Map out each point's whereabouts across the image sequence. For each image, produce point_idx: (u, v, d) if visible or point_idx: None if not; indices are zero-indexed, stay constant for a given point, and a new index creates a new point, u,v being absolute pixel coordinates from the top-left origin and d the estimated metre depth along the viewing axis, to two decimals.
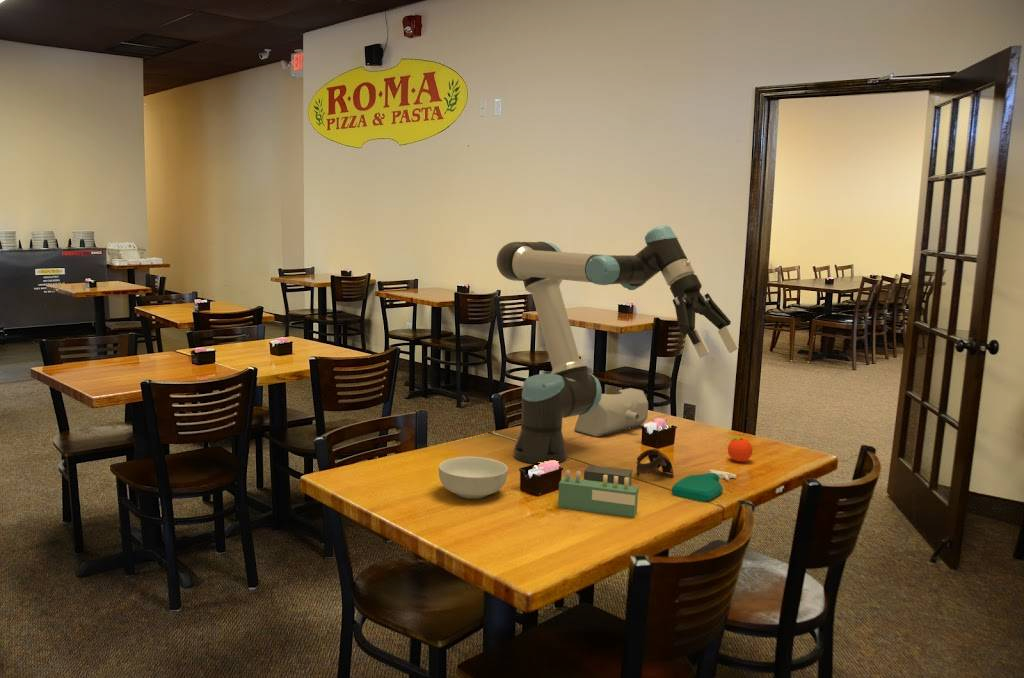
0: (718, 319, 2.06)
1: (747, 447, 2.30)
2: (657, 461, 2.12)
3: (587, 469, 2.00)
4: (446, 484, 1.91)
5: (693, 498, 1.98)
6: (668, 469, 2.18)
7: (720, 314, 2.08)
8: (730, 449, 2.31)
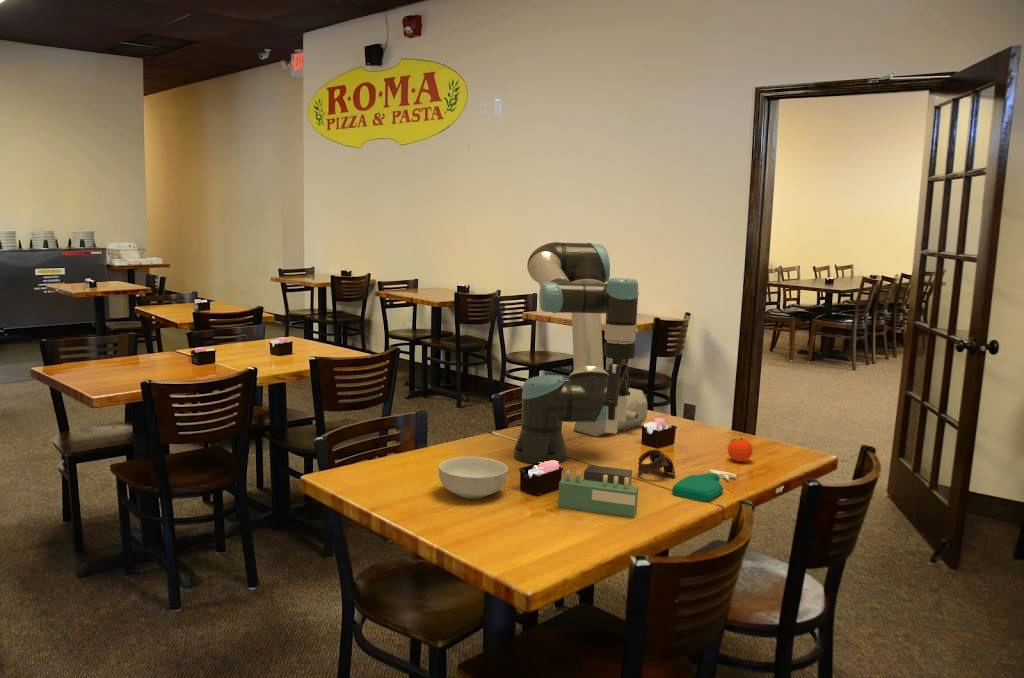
0: (624, 388, 2.02)
1: (747, 447, 2.30)
2: (659, 461, 2.12)
3: (587, 469, 2.00)
4: (446, 484, 1.91)
5: (693, 498, 1.98)
6: (670, 469, 2.18)
7: (626, 381, 2.04)
8: (730, 449, 2.31)
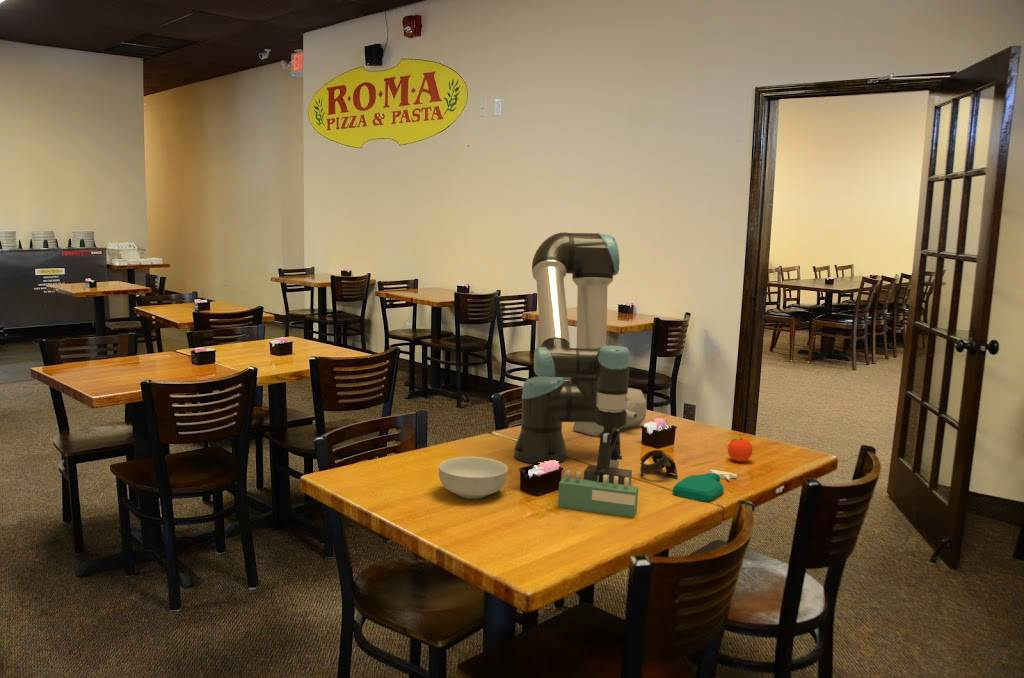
0: (616, 453, 2.04)
1: (747, 447, 2.30)
2: (661, 462, 2.11)
3: (587, 469, 2.00)
4: (446, 484, 1.91)
5: (694, 498, 1.98)
6: (672, 470, 2.18)
7: (618, 445, 2.06)
8: (730, 449, 2.31)
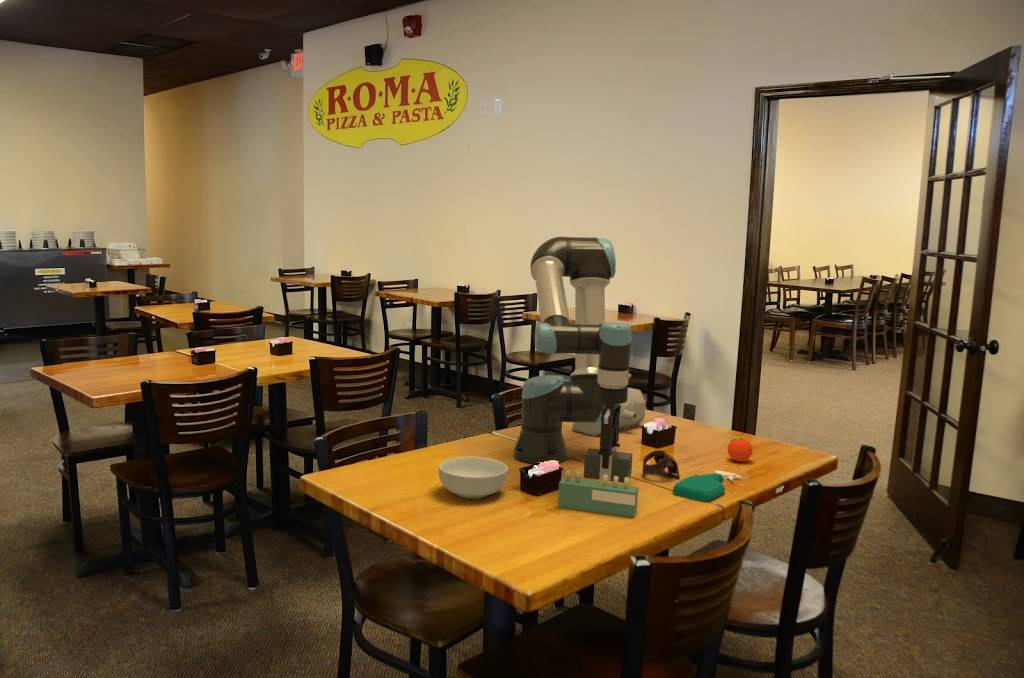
0: (615, 436, 2.01)
1: (747, 447, 2.30)
2: (664, 462, 2.11)
3: (587, 452, 2.00)
4: (446, 484, 1.91)
5: (693, 498, 1.98)
6: (674, 470, 2.17)
7: (617, 429, 2.03)
8: (730, 449, 2.31)
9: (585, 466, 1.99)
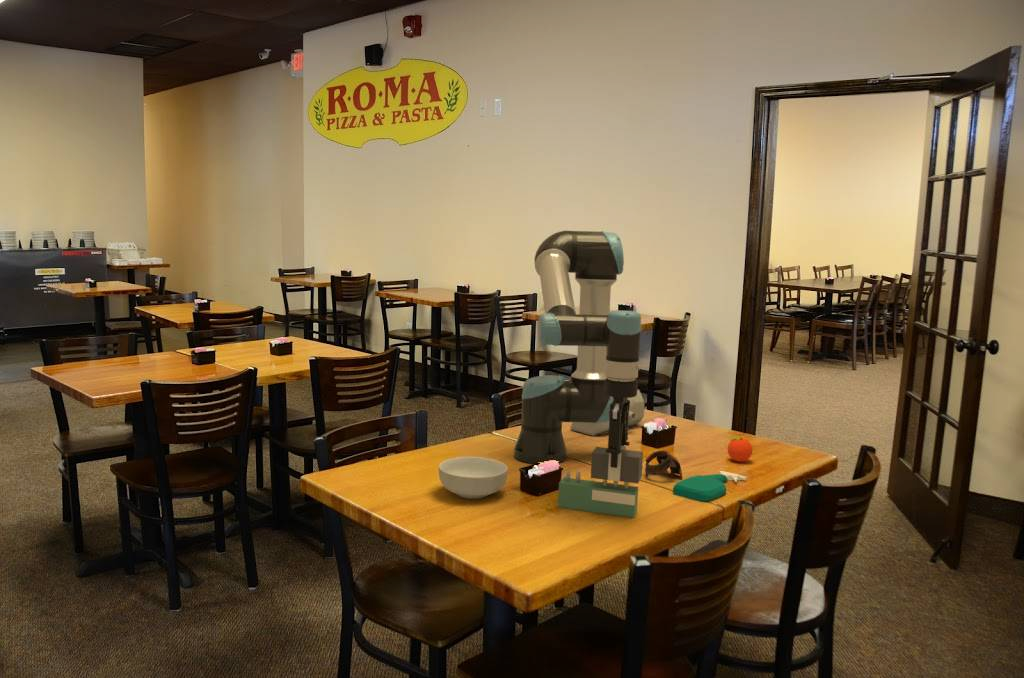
0: (624, 434, 1.88)
1: (747, 447, 2.30)
2: (666, 462, 2.11)
3: (595, 451, 1.86)
4: (446, 484, 1.91)
5: (692, 497, 1.98)
6: (676, 470, 2.17)
7: (626, 427, 1.90)
8: (730, 449, 2.31)
9: (592, 465, 1.85)
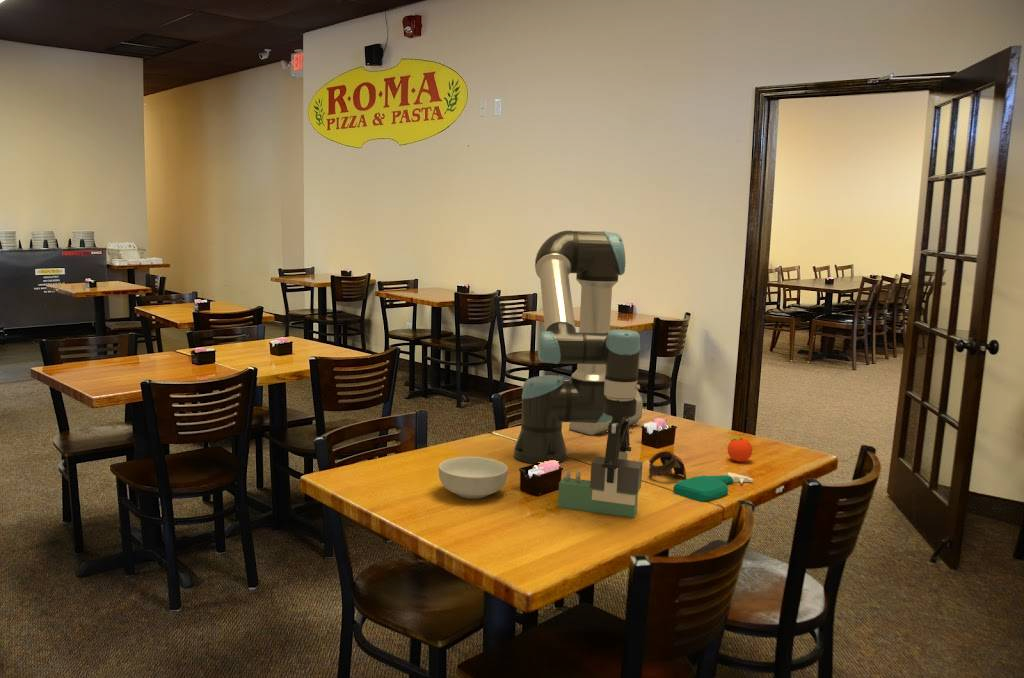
0: (625, 444, 1.91)
1: (747, 447, 2.30)
2: (671, 463, 2.10)
3: (594, 460, 1.87)
4: (446, 484, 1.91)
5: (691, 497, 1.99)
6: (680, 471, 2.17)
7: (627, 436, 1.93)
8: (730, 449, 2.31)
9: (592, 475, 1.85)
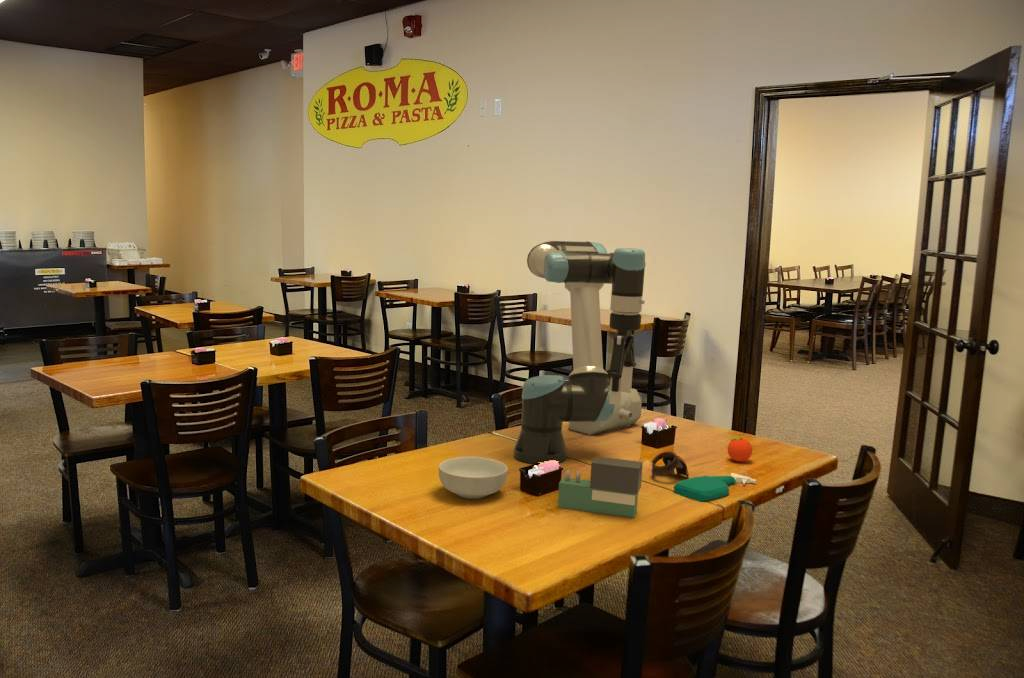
0: (630, 359, 2.01)
1: (747, 447, 2.30)
2: (673, 463, 2.10)
3: (594, 460, 1.87)
4: (446, 484, 1.91)
5: (691, 497, 1.99)
6: (683, 471, 2.16)
7: (632, 352, 2.03)
8: (730, 449, 2.31)
9: (592, 475, 1.85)
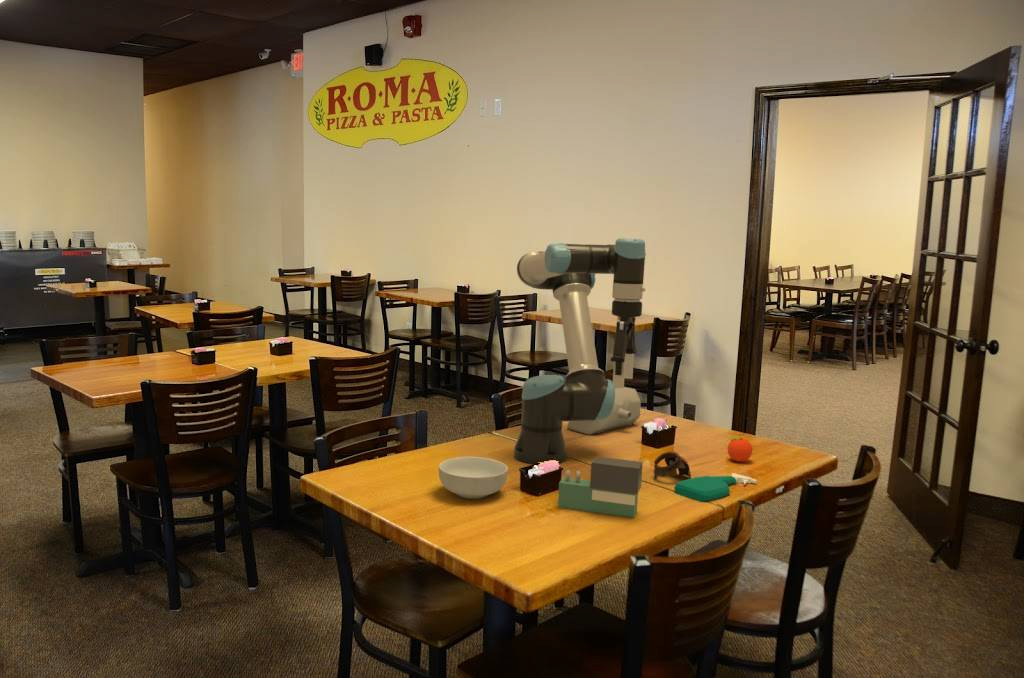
0: (631, 346, 2.09)
1: (747, 447, 2.30)
2: (676, 464, 2.10)
3: (594, 460, 1.87)
4: (446, 484, 1.91)
5: (691, 497, 1.99)
6: (685, 471, 2.16)
7: (633, 340, 2.11)
8: (730, 449, 2.31)
9: (592, 475, 1.85)
